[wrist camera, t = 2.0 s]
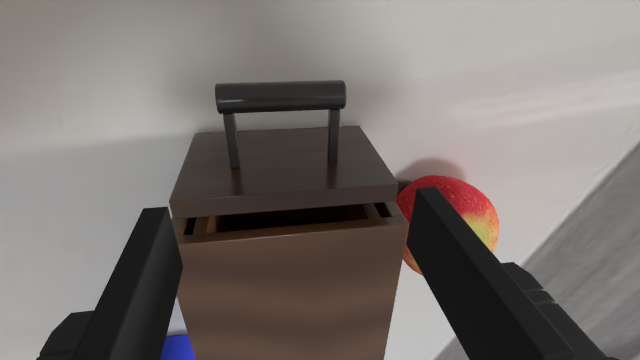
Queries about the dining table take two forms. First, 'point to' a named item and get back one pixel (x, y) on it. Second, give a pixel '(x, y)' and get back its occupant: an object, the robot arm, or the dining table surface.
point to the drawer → (280, 164)
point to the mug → (177, 348)
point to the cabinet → (292, 288)
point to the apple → (465, 202)
